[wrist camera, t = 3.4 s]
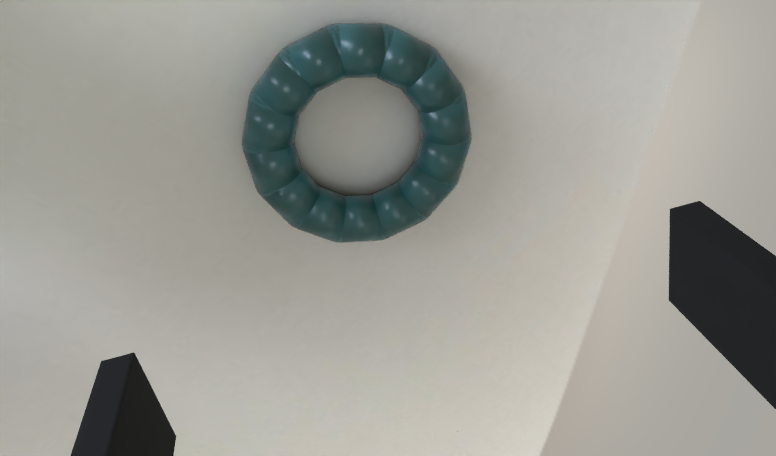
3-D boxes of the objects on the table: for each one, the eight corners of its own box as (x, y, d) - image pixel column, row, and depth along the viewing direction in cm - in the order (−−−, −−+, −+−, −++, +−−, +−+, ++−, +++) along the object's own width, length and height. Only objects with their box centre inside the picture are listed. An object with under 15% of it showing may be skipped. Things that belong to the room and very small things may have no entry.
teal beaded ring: (444, -8, 26) (457, 0, 24) (475, 201, 31) (488, 221, 29) (213, 47, 26) (209, 60, 24) (280, 252, 30) (281, 275, 28)
